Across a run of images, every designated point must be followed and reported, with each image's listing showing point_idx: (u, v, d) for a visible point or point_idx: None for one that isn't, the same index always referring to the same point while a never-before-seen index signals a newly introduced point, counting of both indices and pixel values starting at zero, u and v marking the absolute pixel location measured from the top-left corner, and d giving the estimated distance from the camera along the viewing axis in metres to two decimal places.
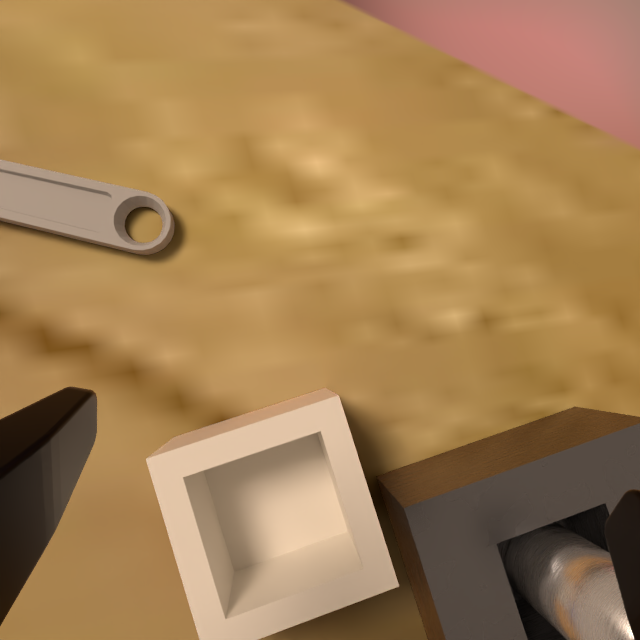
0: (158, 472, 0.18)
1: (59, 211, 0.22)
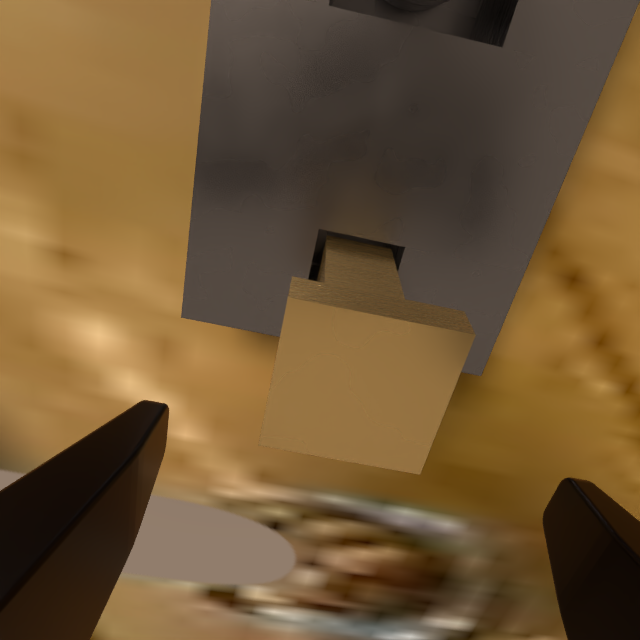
0: None
1: None
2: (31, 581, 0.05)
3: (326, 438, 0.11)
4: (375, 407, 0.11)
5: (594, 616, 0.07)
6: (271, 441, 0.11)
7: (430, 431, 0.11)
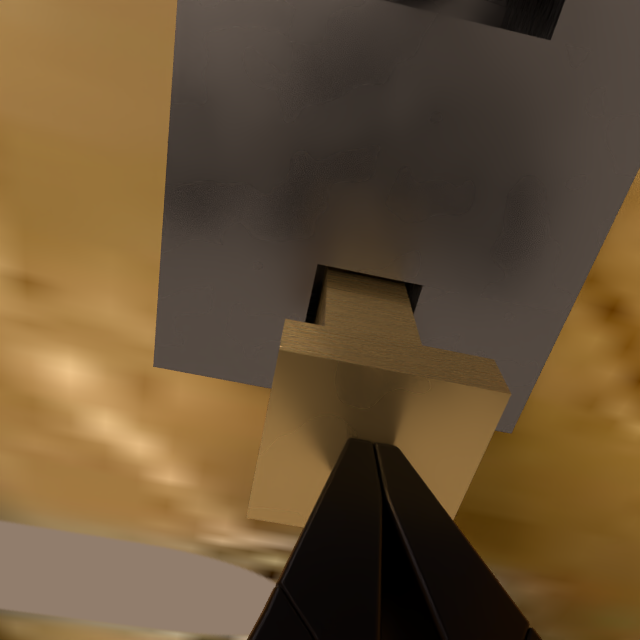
0: None
1: None
2: None
3: None
4: None
5: None
6: (261, 513, 0.09)
7: (453, 503, 0.09)
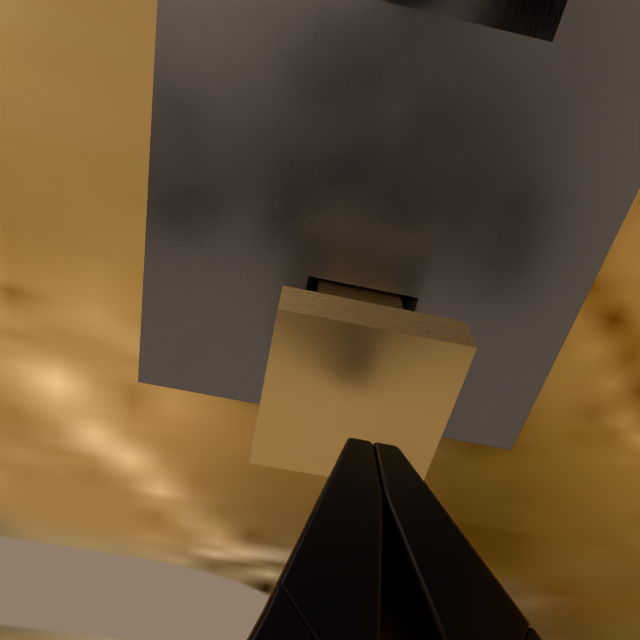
0: None
1: None
2: None
3: (320, 455, 0.10)
4: (371, 423, 0.10)
5: None
6: (262, 458, 0.11)
7: (429, 448, 0.10)
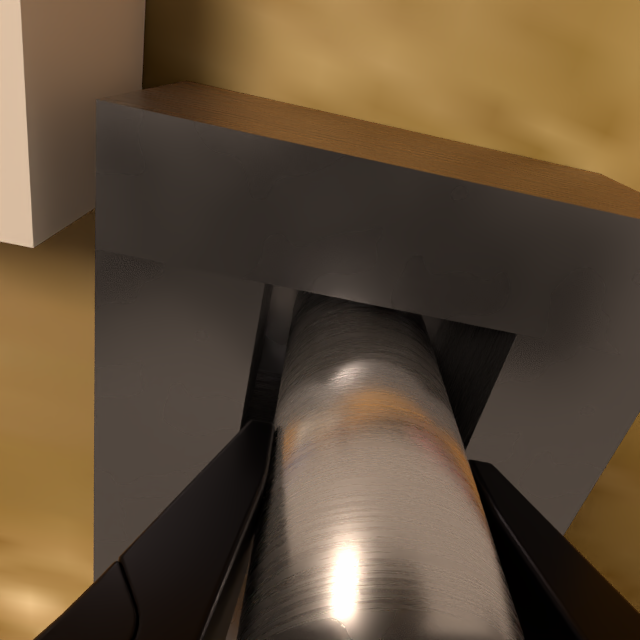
0: None
1: None
2: (215, 610, 0.05)
3: None
4: None
5: None
6: None
7: None
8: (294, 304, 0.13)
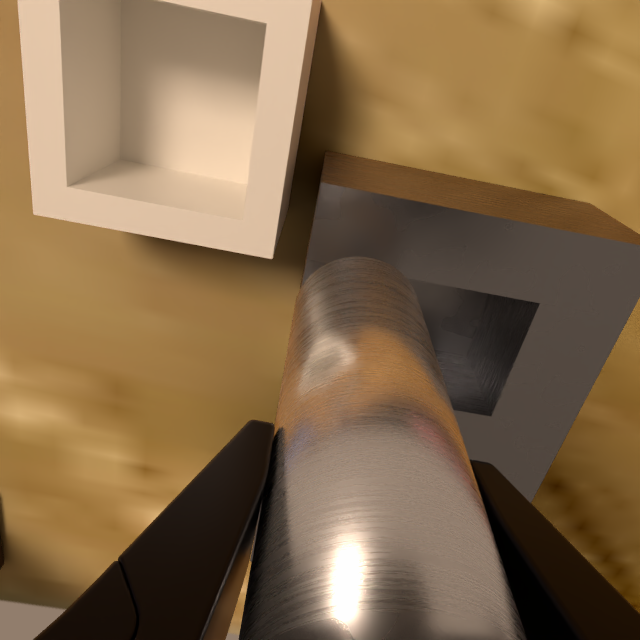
0: None
1: None
2: (215, 610, 0.05)
3: None
4: None
5: None
6: None
7: None
8: (295, 304, 0.13)
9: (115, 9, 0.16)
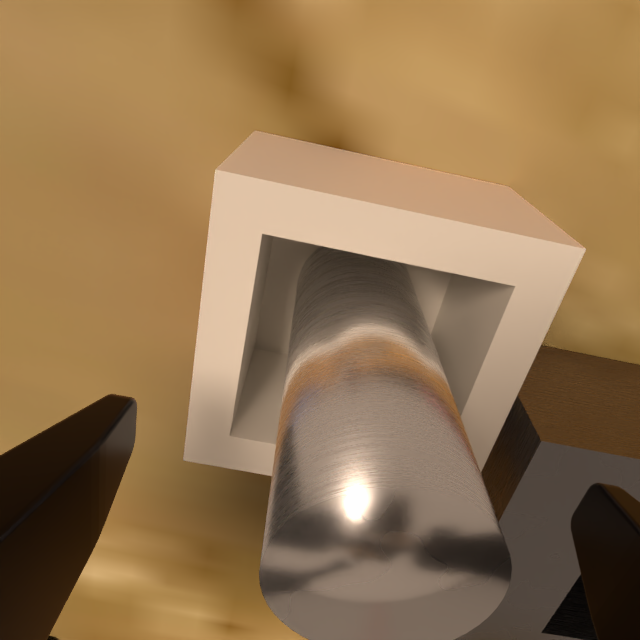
0: (226, 204, 0.10)
1: None
2: None
3: None
4: None
5: (628, 622, 0.07)
6: None
7: None
8: (298, 280, 0.14)
9: None
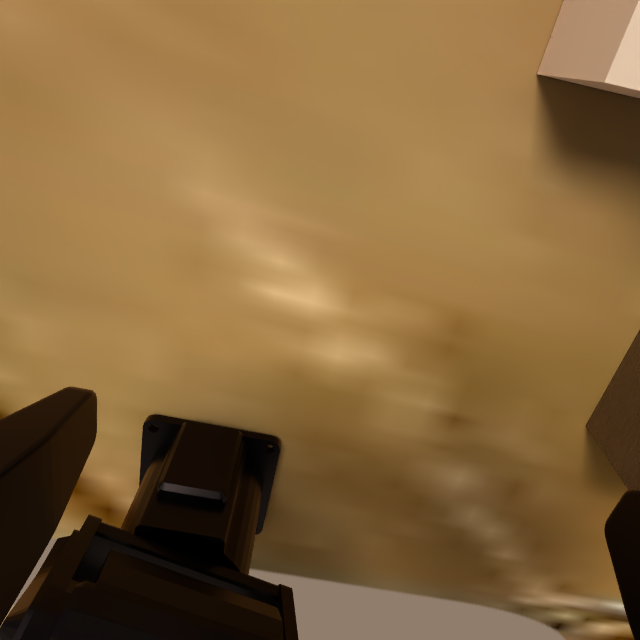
0: None
1: None
2: None
3: None
4: None
5: None
6: None
7: None
8: None
9: None
